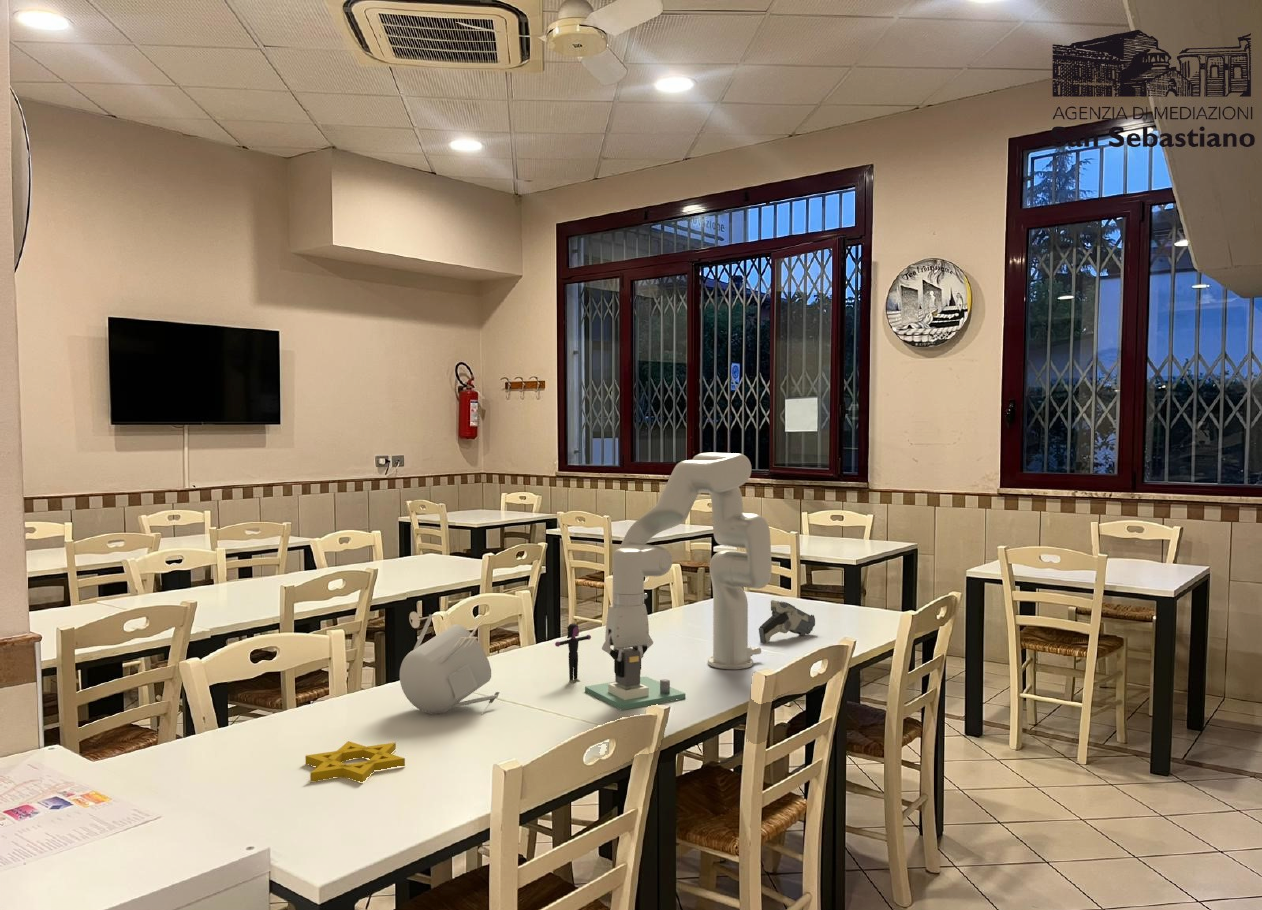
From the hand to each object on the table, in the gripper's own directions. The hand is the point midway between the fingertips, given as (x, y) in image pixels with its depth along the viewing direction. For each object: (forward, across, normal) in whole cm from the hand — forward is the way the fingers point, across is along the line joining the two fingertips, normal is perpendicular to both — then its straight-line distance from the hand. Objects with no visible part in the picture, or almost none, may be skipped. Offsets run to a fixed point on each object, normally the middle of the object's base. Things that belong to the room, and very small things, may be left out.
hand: (627, 674), depth 219 cm
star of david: (+7, +68, +10) cm, 69 cm away
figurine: (+6, +4, -21) cm, 22 cm away
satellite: (+7, +40, -15) cm, 43 cm away
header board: (+6, -3, -2) cm, 7 cm away
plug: (+2, 0, 0) cm, 2 cm away
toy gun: (+6, -76, -29) cm, 82 cm away
